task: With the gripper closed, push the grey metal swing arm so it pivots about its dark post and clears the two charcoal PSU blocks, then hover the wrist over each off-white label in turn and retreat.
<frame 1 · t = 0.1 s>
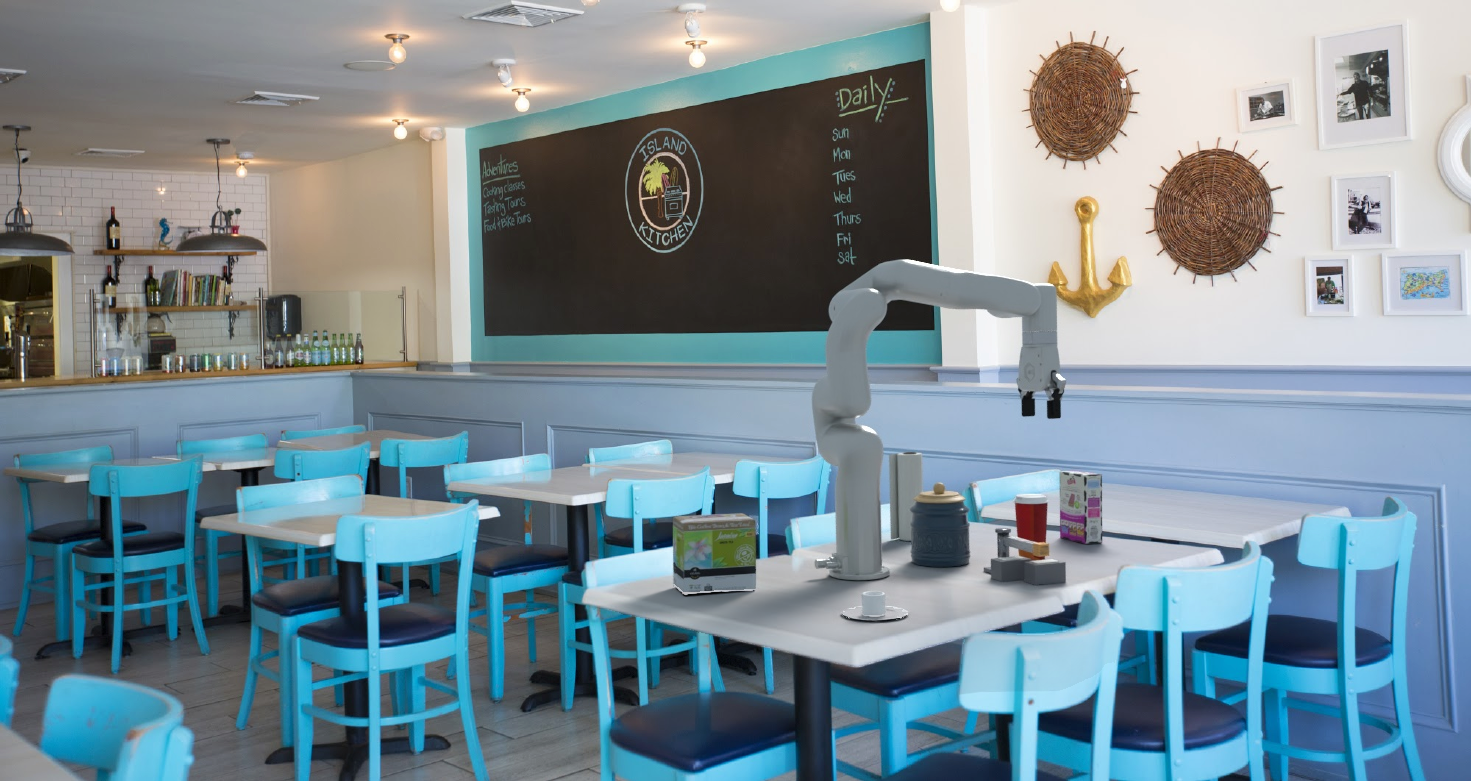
hand: (1041, 417, 264), 31 cm above the table, fingers open, 9 cm apart
pivot post: (1003, 572, 250), on the table
canister: (940, 563, 263), on the table
paper towel roll: (909, 540, 294), on the table
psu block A: (1011, 578, 244), on the table
psu block B: (1045, 581, 239), on the table
candy bar box: (1081, 541, 286), on the table
candle holder: (875, 618, 215), on the table
swing arm: (1025, 545, 242), point 7 cm above the table, hinge at 0.0°
tea box: (715, 590, 240), on the table
paper cup: (1031, 559, 265), on the table
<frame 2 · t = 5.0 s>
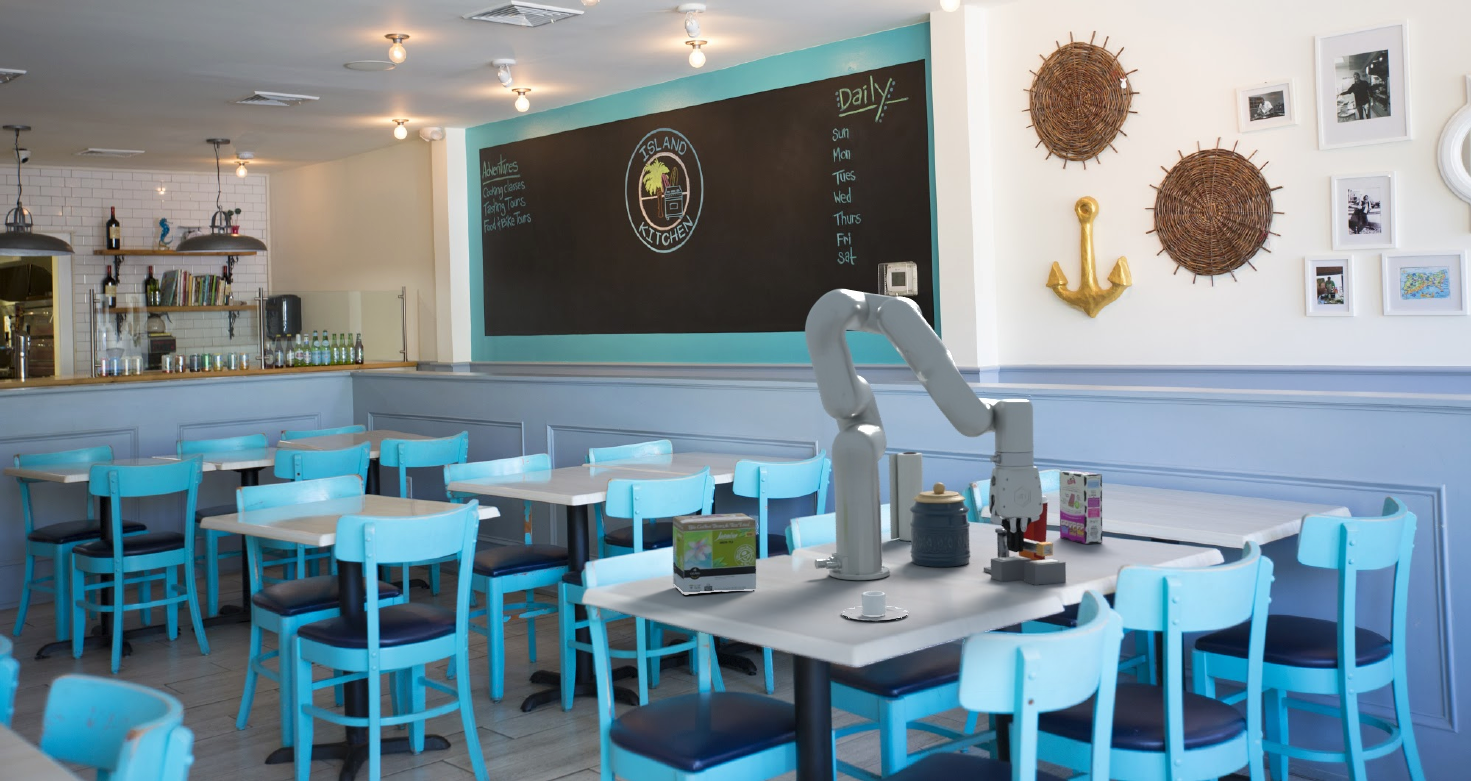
hand: (1015, 550, 241), 6 cm above the table, fingers closed
swing arm: (1027, 544, 242), point 7 cm above the table, hinge at 3.5°, touching gripper
everything else where it was.
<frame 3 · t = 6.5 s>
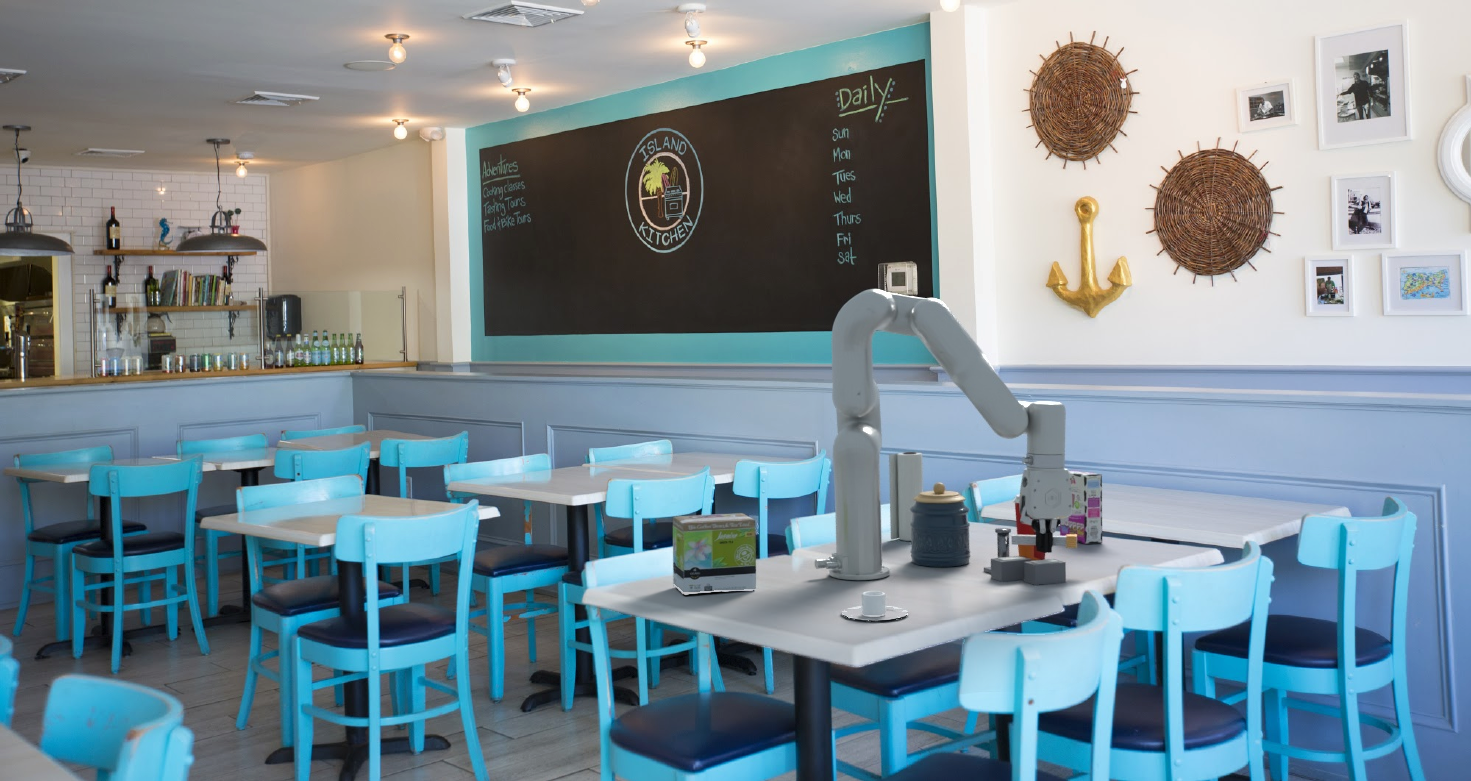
hand: (1044, 551, 244), 5 cm above the table, fingers closed
swing arm: (1044, 540, 247), point 7 cm above the table, hinge at 51.9°, touching gripper
everything else where it was.
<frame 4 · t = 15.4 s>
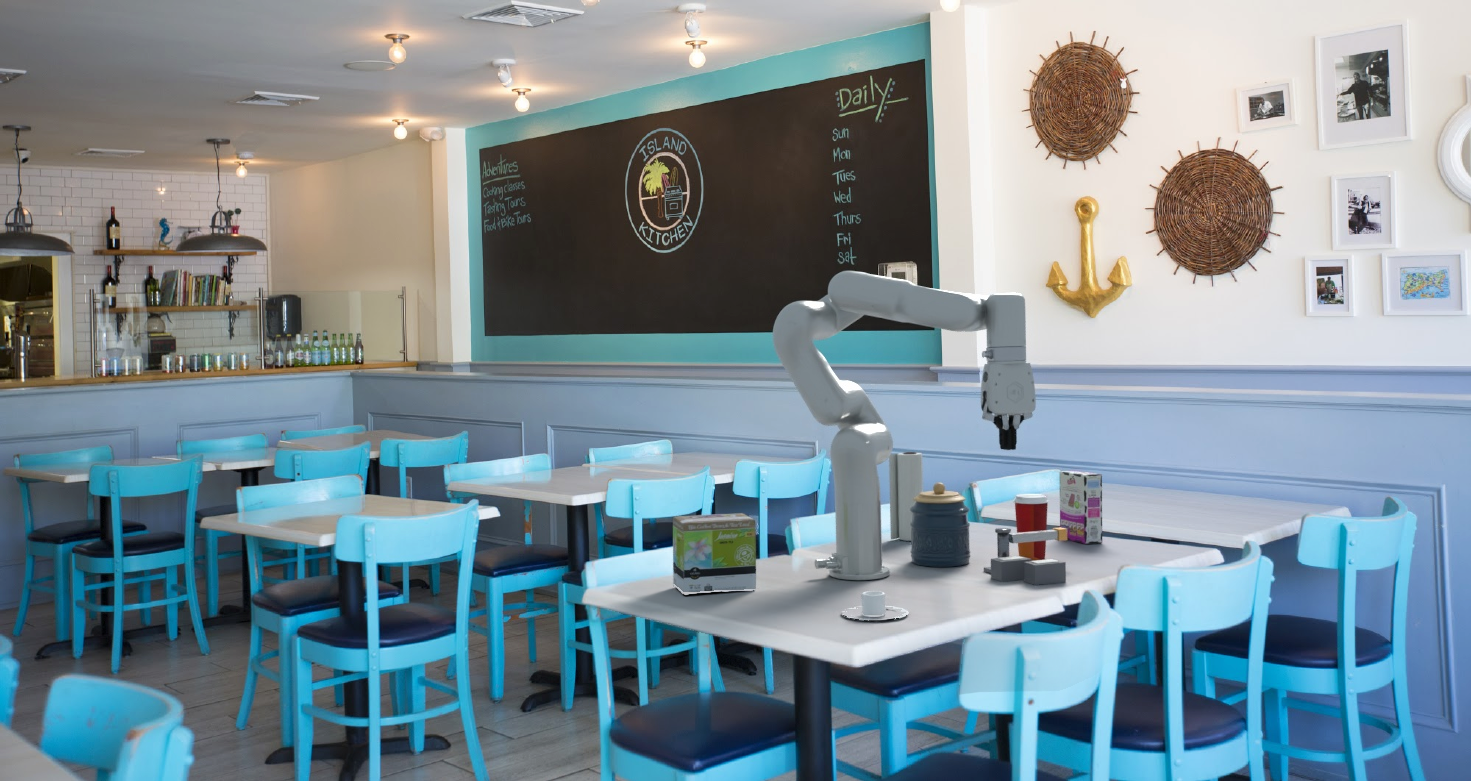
hand: (1008, 449, 235), 27 cm above the table, fingers closed
swing arm: (1037, 536, 252), point 7 cm above the table, hinge at 89.6°
everything else where it was.
at the end: swing arm at +90° (first picture: +0°); swing arm touching nothing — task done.
